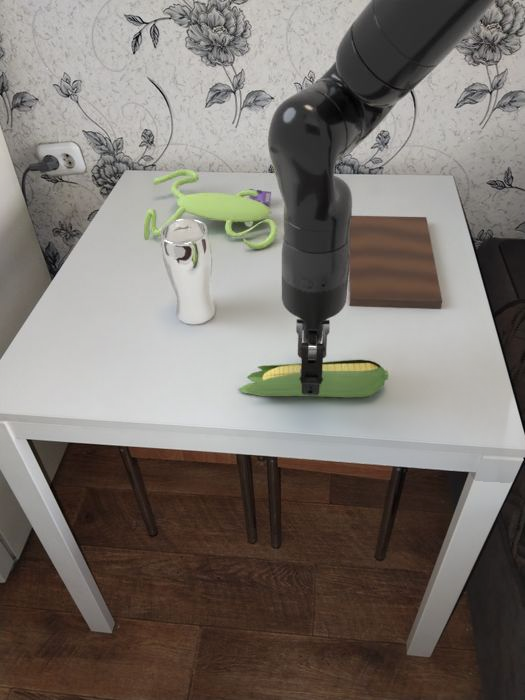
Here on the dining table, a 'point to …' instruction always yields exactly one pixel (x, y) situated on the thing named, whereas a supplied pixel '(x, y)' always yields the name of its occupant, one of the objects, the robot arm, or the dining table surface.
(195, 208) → the figurine
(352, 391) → the edible corn
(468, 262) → the dining table surface
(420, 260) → the serving board
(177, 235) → the beer glass
